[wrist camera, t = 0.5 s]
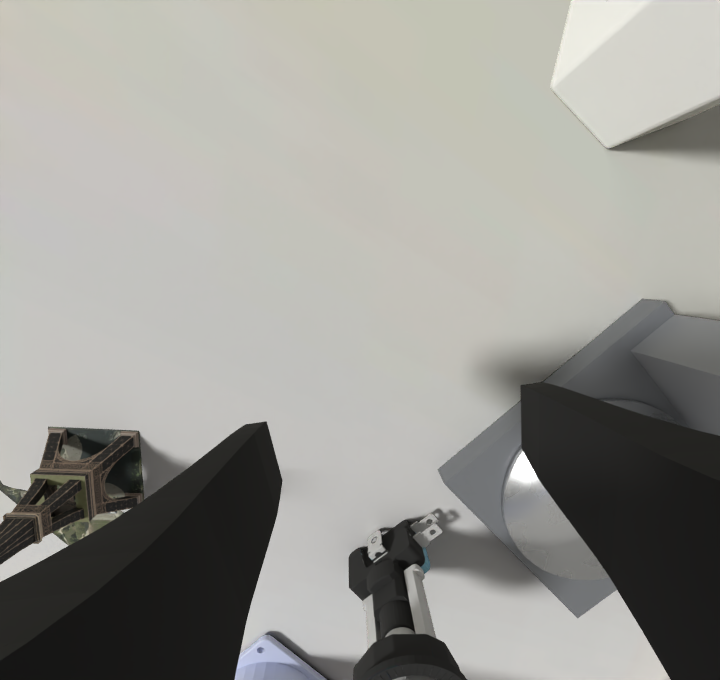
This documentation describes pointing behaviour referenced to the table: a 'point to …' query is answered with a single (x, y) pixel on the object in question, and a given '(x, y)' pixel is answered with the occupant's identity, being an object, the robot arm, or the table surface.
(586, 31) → the jar
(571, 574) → the postal scale
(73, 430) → the eiffel tower figurine
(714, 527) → the robot arm
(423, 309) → the table surface
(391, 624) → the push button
